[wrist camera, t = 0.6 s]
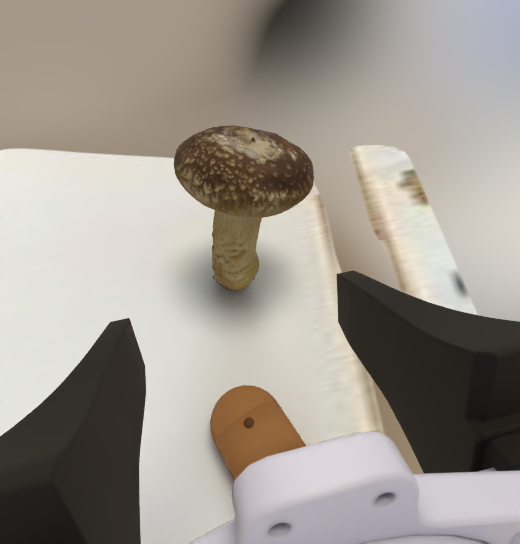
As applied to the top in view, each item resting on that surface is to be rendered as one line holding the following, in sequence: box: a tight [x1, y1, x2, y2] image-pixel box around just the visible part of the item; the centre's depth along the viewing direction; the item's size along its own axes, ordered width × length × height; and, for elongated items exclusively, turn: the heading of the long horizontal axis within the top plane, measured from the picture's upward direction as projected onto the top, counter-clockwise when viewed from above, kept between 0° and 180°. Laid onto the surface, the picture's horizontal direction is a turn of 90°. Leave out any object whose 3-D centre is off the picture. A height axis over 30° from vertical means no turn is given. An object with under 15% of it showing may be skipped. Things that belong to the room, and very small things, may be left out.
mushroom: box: [174, 126, 314, 290], centre depth 32 cm, size 9×9×15 cm
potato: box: [210, 386, 306, 479], centre depth 26 cm, size 8×5×5 cm, turn 33°
